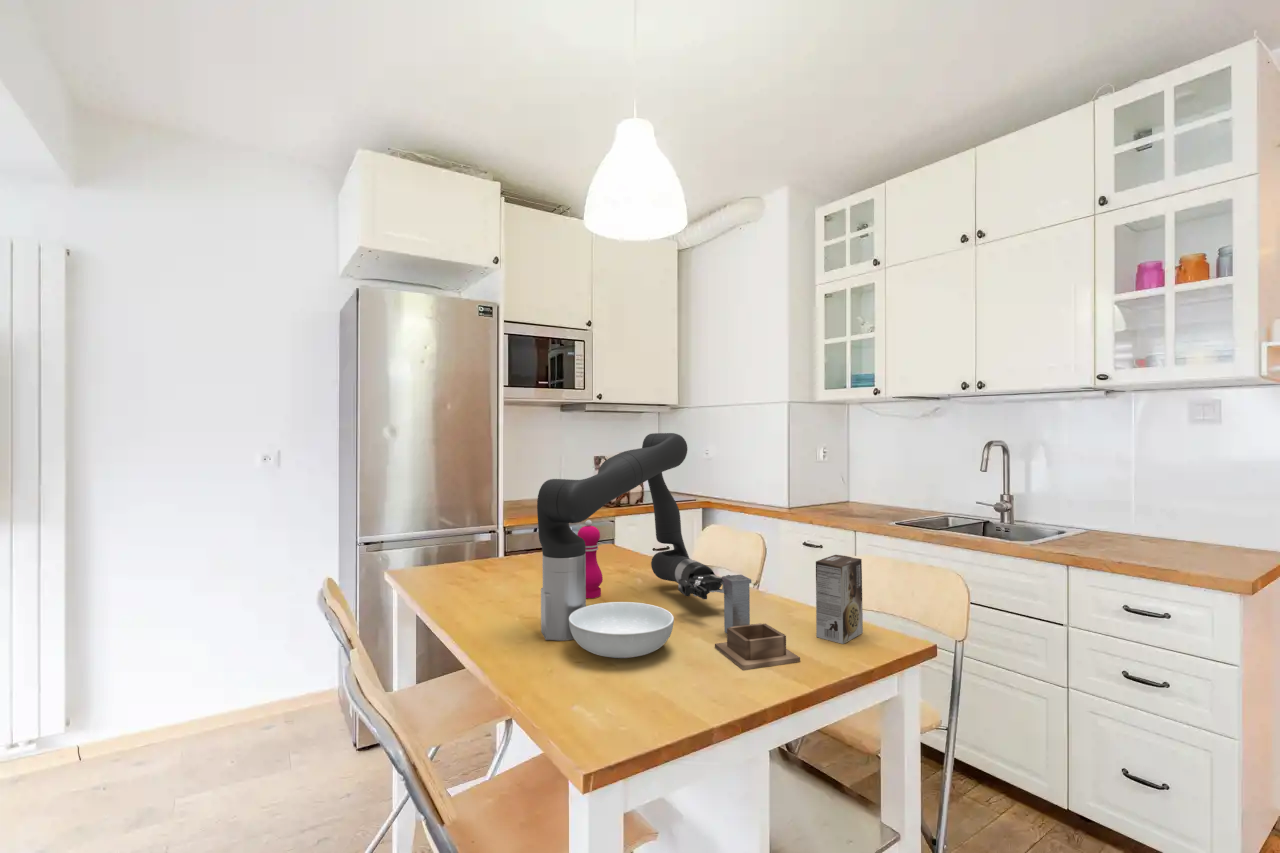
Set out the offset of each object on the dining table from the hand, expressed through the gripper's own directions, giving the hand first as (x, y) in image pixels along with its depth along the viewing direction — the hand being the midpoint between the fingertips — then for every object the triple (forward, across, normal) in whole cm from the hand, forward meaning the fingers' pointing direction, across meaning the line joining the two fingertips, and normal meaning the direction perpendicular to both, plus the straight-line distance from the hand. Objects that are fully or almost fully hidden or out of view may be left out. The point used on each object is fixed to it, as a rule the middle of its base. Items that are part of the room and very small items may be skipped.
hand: (723, 593), depth 137 cm
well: (+19, -2, +7) cm, 20 cm away
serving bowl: (+8, -26, +7) cm, 28 cm away
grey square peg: (+7, 0, +7) cm, 10 cm away
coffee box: (+15, +20, +7) cm, 26 cm away
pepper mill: (-34, -23, +7) cm, 41 cm away
